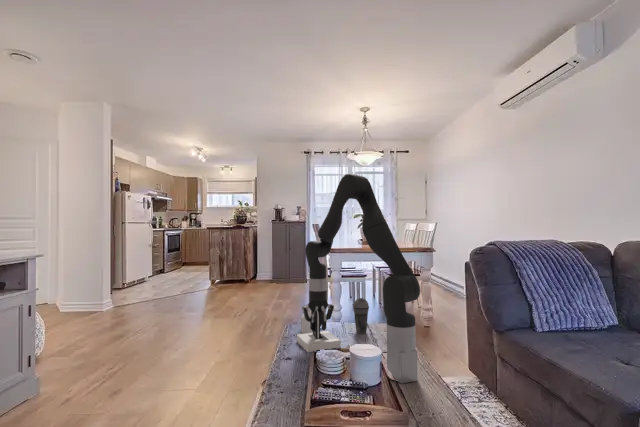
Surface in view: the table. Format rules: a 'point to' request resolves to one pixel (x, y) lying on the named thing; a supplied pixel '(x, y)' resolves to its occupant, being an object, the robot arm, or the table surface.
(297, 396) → the table surface
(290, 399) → the table surface
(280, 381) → the table surface
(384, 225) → the robot arm
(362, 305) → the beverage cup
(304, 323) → the medicine bottle
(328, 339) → the charging dock
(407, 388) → the table surface
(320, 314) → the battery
